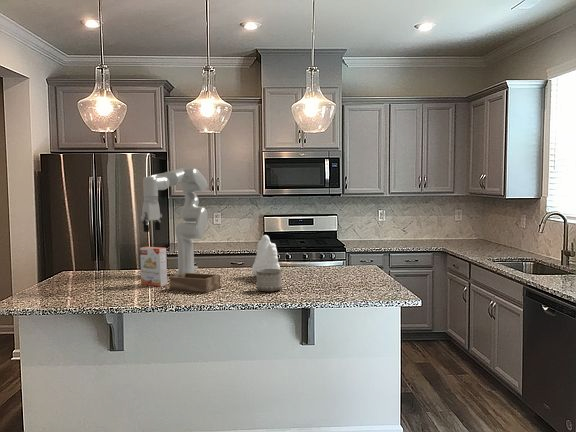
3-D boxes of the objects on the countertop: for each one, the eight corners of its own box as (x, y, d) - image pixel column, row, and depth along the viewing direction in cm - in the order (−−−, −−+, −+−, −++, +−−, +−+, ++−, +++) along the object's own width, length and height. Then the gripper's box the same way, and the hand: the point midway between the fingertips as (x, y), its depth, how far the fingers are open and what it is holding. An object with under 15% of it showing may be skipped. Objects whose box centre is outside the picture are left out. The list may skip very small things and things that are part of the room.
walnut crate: (185, 285, 279) (185, 272, 279) (220, 288, 271) (220, 274, 270) (170, 290, 267) (169, 277, 266) (206, 293, 258) (206, 279, 258)
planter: (258, 293, 256) (258, 273, 255) (255, 288, 268) (254, 269, 267) (283, 292, 258) (283, 271, 258) (279, 287, 271) (278, 267, 270)
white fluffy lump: (251, 275, 307) (250, 234, 305) (277, 274, 309) (276, 233, 308) (255, 283, 282) (254, 238, 280) (283, 282, 285) (283, 237, 283)
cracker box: (140, 285, 282) (139, 247, 281) (148, 283, 287) (147, 246, 286) (160, 287, 276) (159, 248, 274) (167, 285, 281) (166, 247, 280)
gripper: (155, 199, 288) (156, 229, 289) (134, 200, 272) (136, 232, 273) (166, 198, 285) (167, 229, 286) (146, 200, 269) (147, 232, 270)
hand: (152, 230), depth 279 cm, fingers open, 9 cm apart
